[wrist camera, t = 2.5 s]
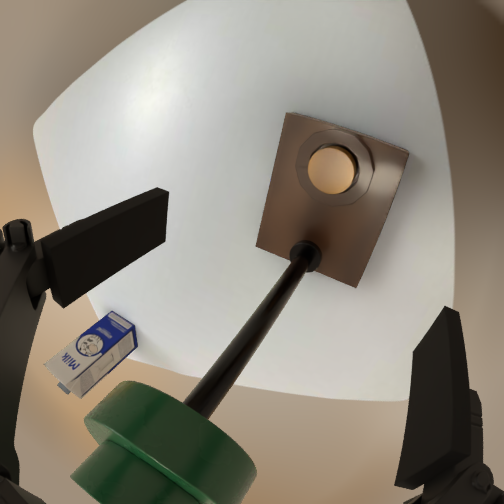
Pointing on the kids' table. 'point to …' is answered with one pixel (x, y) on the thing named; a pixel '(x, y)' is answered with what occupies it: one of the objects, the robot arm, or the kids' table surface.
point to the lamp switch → (332, 169)
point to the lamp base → (330, 197)
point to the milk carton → (93, 354)
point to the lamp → (182, 423)
